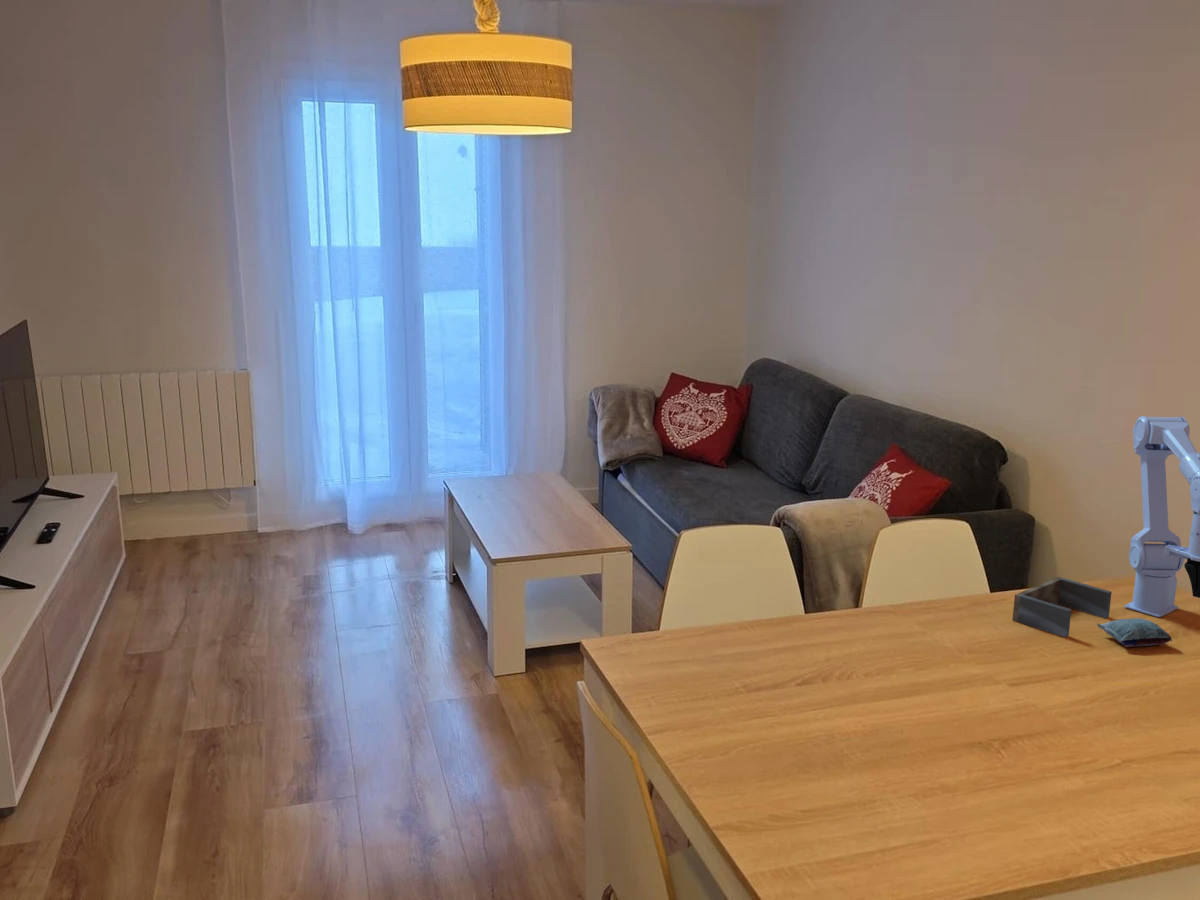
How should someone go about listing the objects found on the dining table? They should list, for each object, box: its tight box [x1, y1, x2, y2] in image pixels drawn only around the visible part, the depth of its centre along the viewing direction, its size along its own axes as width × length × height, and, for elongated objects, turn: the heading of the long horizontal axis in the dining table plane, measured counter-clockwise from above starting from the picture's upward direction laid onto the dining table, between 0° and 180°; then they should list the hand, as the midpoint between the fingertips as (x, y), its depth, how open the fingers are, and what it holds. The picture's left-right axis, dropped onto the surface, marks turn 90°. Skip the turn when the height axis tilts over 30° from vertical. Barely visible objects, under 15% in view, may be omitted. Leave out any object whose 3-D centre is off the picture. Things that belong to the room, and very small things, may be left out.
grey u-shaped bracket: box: [1011, 576, 1113, 638], centre depth 231 cm, size 19×12×6 cm, turn 128°
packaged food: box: [1096, 617, 1173, 648], centre depth 219 cm, size 9×12×5 cm
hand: (1198, 596), depth 217 cm, fingers closed
